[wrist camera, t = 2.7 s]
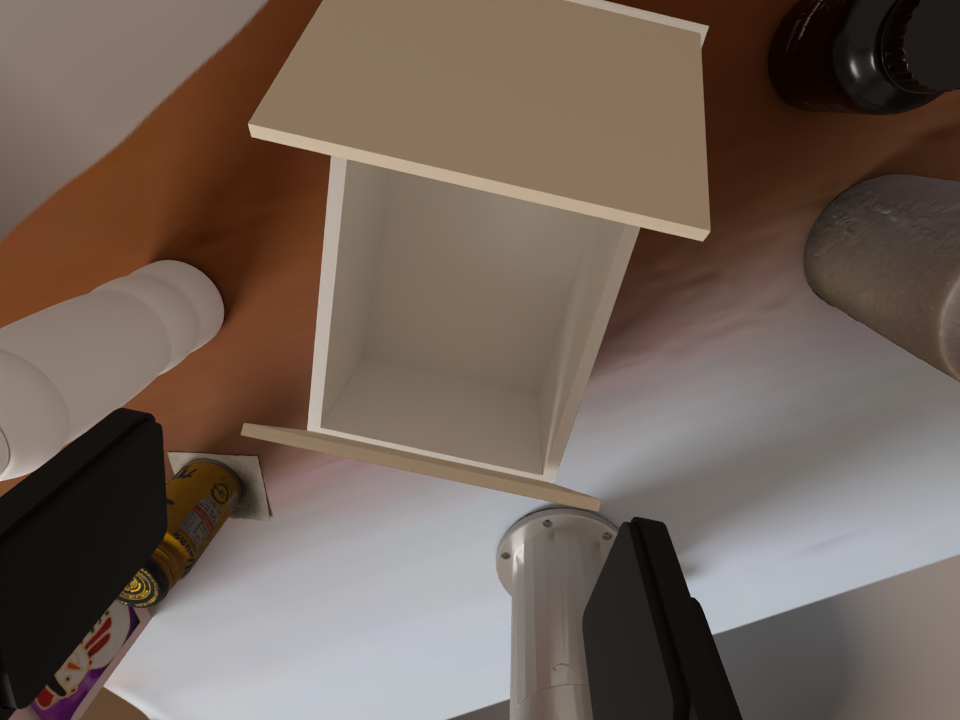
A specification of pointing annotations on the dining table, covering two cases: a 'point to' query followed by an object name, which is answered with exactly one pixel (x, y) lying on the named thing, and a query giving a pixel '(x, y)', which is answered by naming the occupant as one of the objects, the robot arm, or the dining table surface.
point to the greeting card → (88, 666)
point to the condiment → (197, 517)
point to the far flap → (421, 464)
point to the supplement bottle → (866, 55)
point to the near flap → (506, 103)
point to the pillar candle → (894, 262)
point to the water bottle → (96, 356)
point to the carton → (461, 314)
